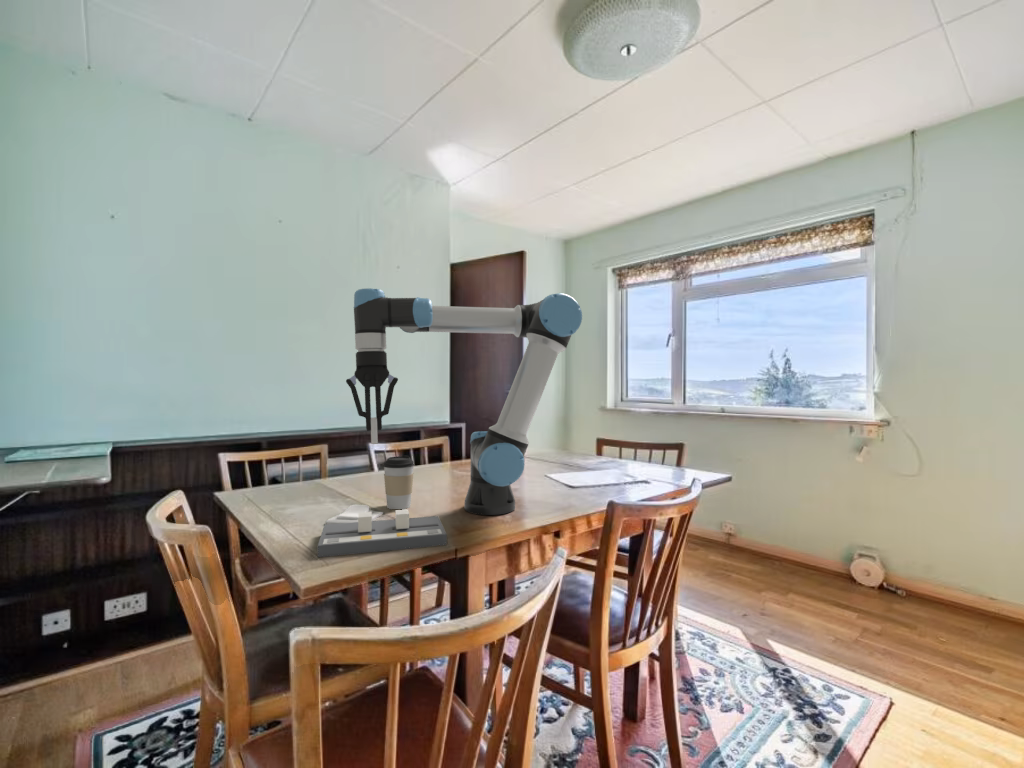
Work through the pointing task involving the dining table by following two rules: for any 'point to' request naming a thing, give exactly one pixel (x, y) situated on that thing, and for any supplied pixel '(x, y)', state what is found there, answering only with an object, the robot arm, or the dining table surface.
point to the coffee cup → (398, 481)
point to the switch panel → (381, 536)
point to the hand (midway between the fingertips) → (374, 443)
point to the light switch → (352, 514)
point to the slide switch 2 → (402, 519)
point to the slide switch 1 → (365, 522)
